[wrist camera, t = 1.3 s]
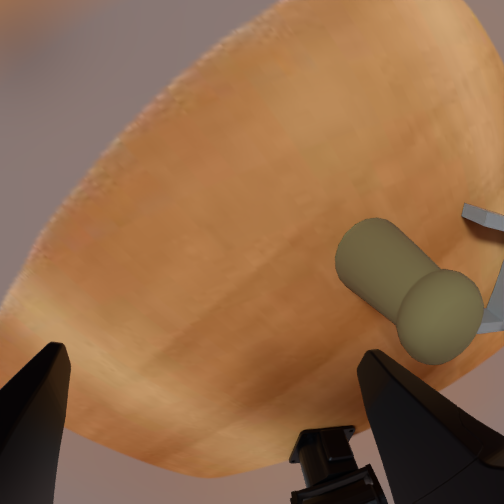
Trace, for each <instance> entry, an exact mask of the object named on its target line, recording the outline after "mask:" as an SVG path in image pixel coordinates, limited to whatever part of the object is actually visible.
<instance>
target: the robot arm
mask: <svg viewBox="0 0 504 504" xmlns="http://www.w3.org/2000/svg"><path fill="white" fill-rule="evenodd" d="M70 372H71V363H70V360H69V357H68V354H67V350H66V347H65V345H64V344H63V343H59V342H50V343H48V344H47V345H46V346H45V347H44V348H43V349H42V350H41V351H40V352H39V353H38V354H36V355H35V356H34V357H33V358H32V359H31V360H30V361H29V362H28V363H27V364H26V365H25V366H24V367H23V368H22V369H21V370H20V371H19V372H18V373H17V374H16V375H15V376H14V377H12V378H11V379H10V380H9V381H8V382H7V383H6V384H5V385H4V386H3V387H2V388H1V389H0V504H53V499H54V489H55V480H56V472H57V465H58V458H59V451H60V445H61V439H62V433H63V428H64V423H65V417H66V408H67V398H68V389H69V380H70ZM357 376H358V380H359V384H360V388H361V393H362V397H363V402H364V406H365V410H366V414H367V417H368V420H369V423H370V426H371V429H372V432H373V435H374V438H375V441H376V444H377V447H378V450H379V454H380V456H381V460H382V463H383V466H384V470H385V473H386V476H387V479H388V482H389V486H390V489H391V493H392V496H393V500H394V503H395V504H504V436H503V435H501V434H500V433H498V432H496V431H494V430H493V429H491V428H490V427H488V426H486V425H485V424H483V423H481V422H480V421H478V420H476V419H475V418H474V417H472V416H471V415H469V414H468V413H466V412H465V411H464V410H462V409H461V408H459V407H457V405H455V404H454V403H452V402H451V401H450V400H448V399H447V398H446V397H444V396H443V395H441V394H440V393H439V392H437V391H436V390H435V389H433V388H432V387H430V386H429V385H428V384H426V383H425V382H424V381H422V380H421V379H419V378H418V377H417V376H415V375H414V374H413V373H411V372H410V371H408V370H407V369H406V368H404V367H403V366H401V365H400V364H399V363H397V362H396V361H395V360H393V359H392V358H391V357H389V356H388V355H386V354H385V353H384V352H382V351H381V350H379V349H373V350H368V351H366V353H365V354H364V356H363V358H362V360H361V362H360V363H359V365H358V367H357ZM354 432H355V428H354V426H346V427H338V428H328V429H317V430H305V431H302V432H301V433H300V434H299V437H298V439H297V442H296V444H295V446H294V449H293V451H292V453H291V455H290V458H289V462H290V463H300V464H301V468H302V472H303V476H304V480H305V484H306V487H307V488H305V489H302V490H299V491H293V492H291V495H292V498H290V501H291V504H388V502H387V499H386V497H385V495H384V492H383V490H382V488H381V486H380V483H379V481H378V479H377V477H376V475H375V473H374V471H373V469H372V467H371V465H370V464H368V465H366V466H365V467H363V468H360V469H358V466H357V464H356V461H355V459H354V455H353V452H352V450H351V447H350V445H349V440H350V438H351V437H352V435H353V433H354Z"/></svg>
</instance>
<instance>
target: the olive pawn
mask: <svg viewBox="0 0 504 504" xmlns="http://www.w3.org/2000/svg"><path fill="white" fill-rule="evenodd" d="M335 263H336V271H337V274H338V276H339V279H340V280H341V281H342V282H343V283H344V284H345V286H346V287H348V288H349V289H350V290H352V291H353V292H354V293H355V294H357V295H358V296H359V297H361V298H362V299H363V300H364V301H366V302H367V303H368V304H370V305H371V306H372V307H373V308H375V309H376V310H377V311H379V312H380V313H381V314H382V315H384V316H385V317H386V318H387V319H389V320H390V321H391V322H392V323H394V324H395V325H396V328H397V332H398V336H399V339H400V342H401V344H402V346H403V347H404V348H405V349H406V351H407V352H408V353H409V354H410V356H411V357H412V358H414V359H415V360H417V361H419V362H421V363H424V364H429V365H439V364H443V363H446V362H448V361H450V360H452V359H453V358H455V357H456V356H458V355H459V354H460V353H462V352H463V351H464V350H465V349H466V348H467V347H468V346H469V344H470V343H471V342H472V340H473V339H474V337H475V336H476V334H477V332H478V329H479V327H480V325H481V322H482V318H483V314H484V304H483V300H482V296H481V294H480V291H479V289H478V287H477V286H476V285H475V283H474V282H473V281H472V280H470V279H469V278H468V277H467V276H465V275H464V274H462V273H461V272H457V271H453V270H447V269H440V268H439V267H438V266H437V265H436V264H435V263H434V262H433V261H432V260H431V259H430V258H429V257H428V256H427V255H426V254H425V253H424V252H423V251H422V250H421V249H420V248H419V247H418V246H417V245H416V244H415V243H414V242H413V241H412V240H410V239H409V238H408V237H407V236H406V235H405V234H404V233H403V232H402V231H401V230H400V229H399V228H397V227H396V226H395V225H394V224H392V223H391V222H389V221H388V220H385V219H381V218H371V219H365V220H363V221H361V222H359V223H357V224H355V225H354V226H353V227H352V228H351V229H350V230H349V231H348V232H346V233H345V235H344V237H343V238H342V240H341V242H340V243H339V245H338V249H337V253H336V256H335Z"/></svg>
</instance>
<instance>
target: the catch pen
mask: <svg viewBox="0 0 504 504" xmlns="http://www.w3.org/2000/svg"><path fill="white" fill-rule="evenodd" d="M462 217H464V218H467V219H469V220H471V221H474V222H476V223H478V224H480V225H483V226H486V227H489V228H493V229H497V230H500V231H504V215H501V214H498V213H495V212H492V211H489V210H486V209H483V208H479V207H476V206H473V205H470V204H466V203H464V208H463V212H462ZM497 331H504V261H503V264H502V267H501V270H500V273H499V276H498V279H497V282H496V285H495V287H494V290H493V293H492V295H491V298H490V301H489V303H488V306H487V308H484V314H483V318H482V322H481V325H480V327H479V329H478V332H477V334H481V333H489V332H497Z"/></svg>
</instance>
